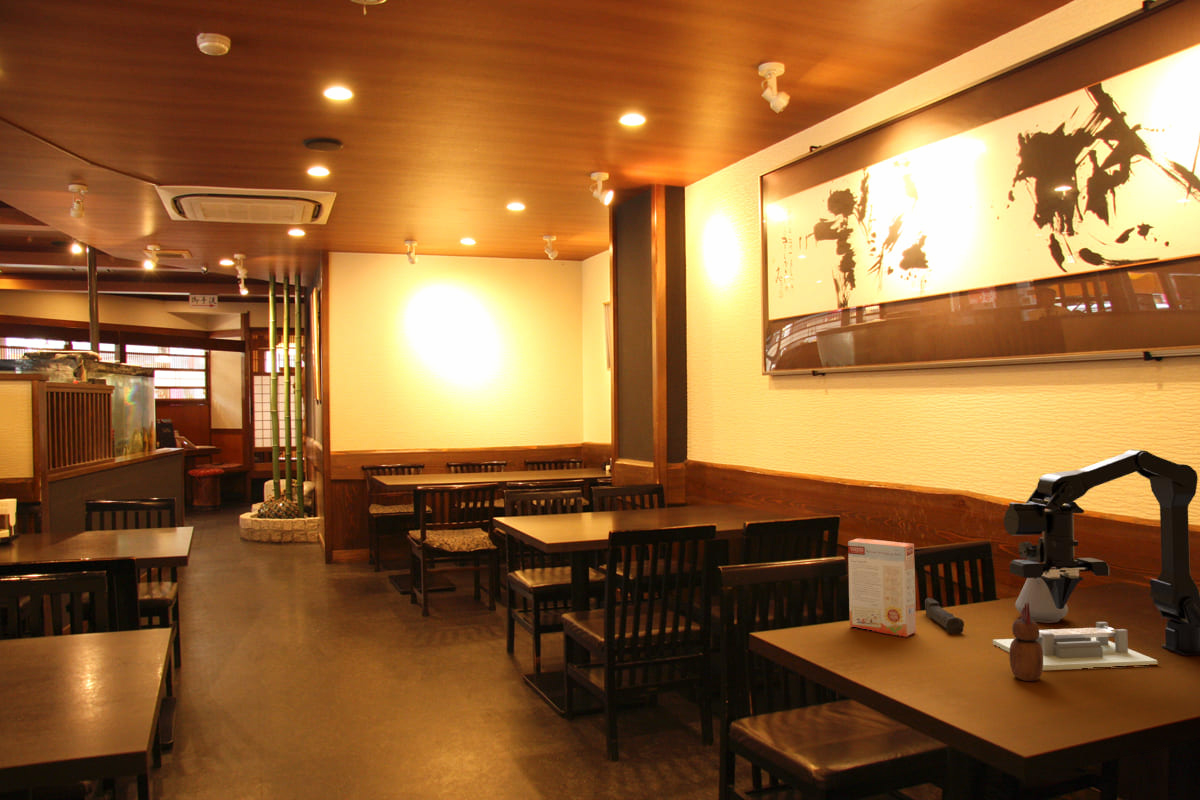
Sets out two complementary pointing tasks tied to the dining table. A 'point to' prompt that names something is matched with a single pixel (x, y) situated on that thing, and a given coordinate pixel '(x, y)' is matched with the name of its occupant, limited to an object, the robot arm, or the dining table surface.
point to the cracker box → (882, 586)
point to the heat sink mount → (1085, 651)
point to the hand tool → (943, 617)
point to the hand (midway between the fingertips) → (1059, 608)
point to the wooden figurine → (1026, 648)
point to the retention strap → (1080, 632)
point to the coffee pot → (1039, 602)
